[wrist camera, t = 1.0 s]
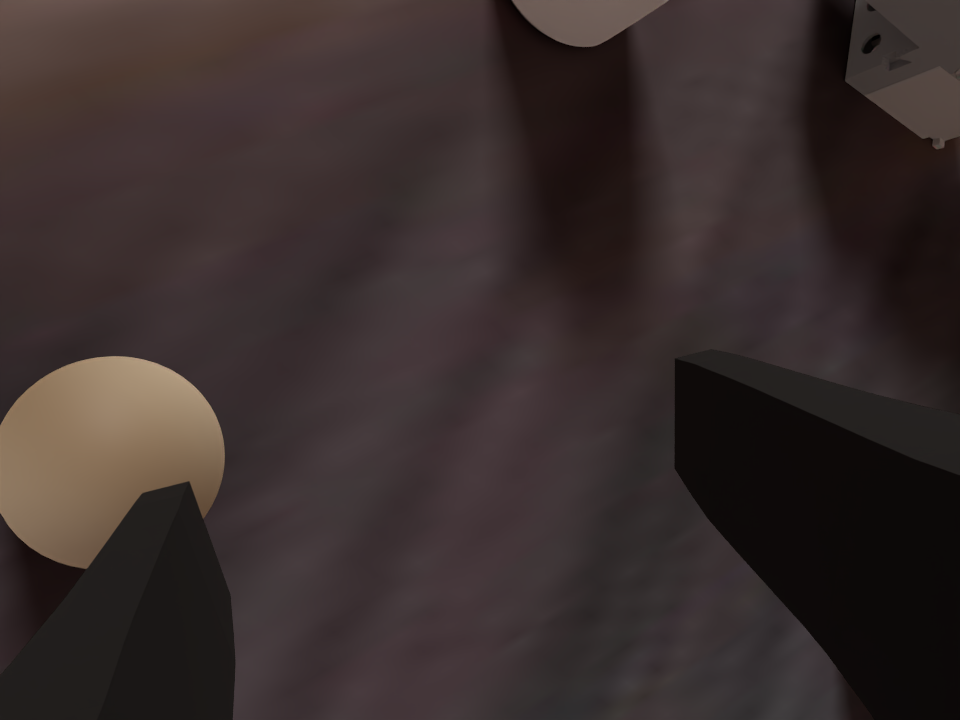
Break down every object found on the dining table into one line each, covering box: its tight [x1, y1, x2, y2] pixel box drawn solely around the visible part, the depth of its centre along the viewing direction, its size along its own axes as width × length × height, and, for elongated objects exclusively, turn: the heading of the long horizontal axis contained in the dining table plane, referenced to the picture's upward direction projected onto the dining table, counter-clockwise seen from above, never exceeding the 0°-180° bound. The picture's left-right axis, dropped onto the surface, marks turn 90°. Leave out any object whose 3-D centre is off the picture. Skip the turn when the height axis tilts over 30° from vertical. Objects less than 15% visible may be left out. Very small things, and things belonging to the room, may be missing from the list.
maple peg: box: [0, 356, 225, 569], centre depth 17 cm, size 4×4×6 cm
